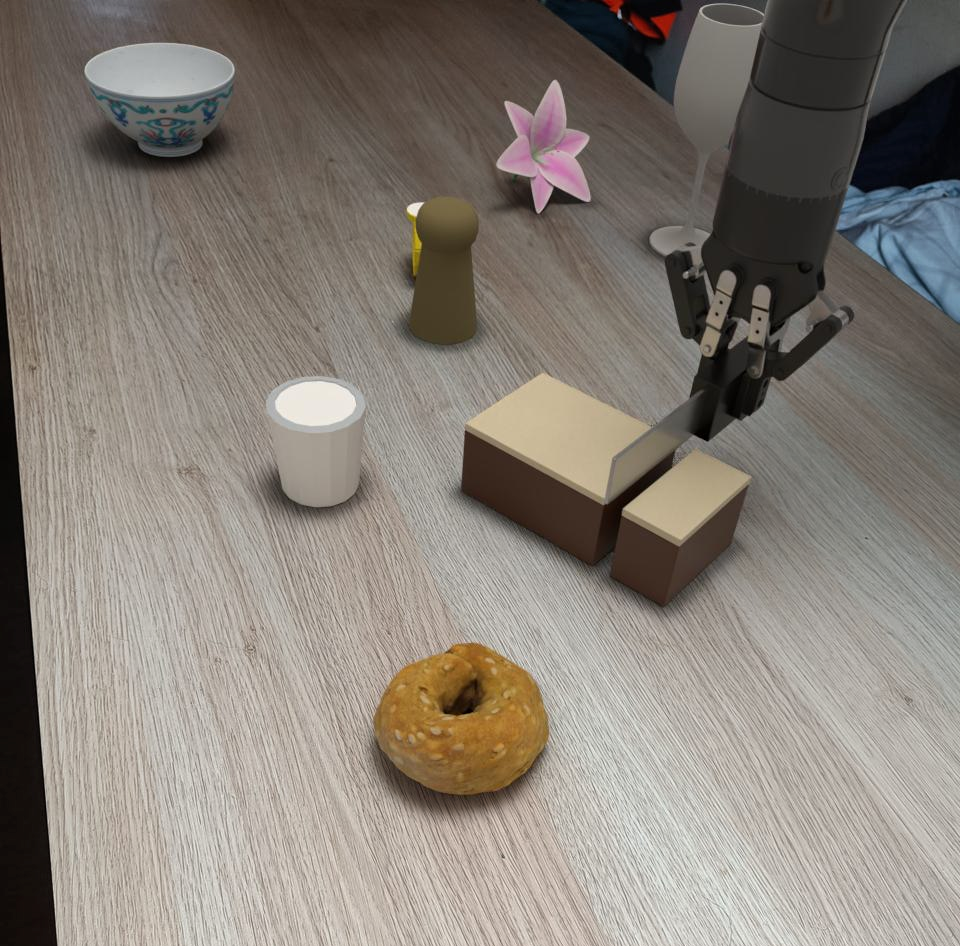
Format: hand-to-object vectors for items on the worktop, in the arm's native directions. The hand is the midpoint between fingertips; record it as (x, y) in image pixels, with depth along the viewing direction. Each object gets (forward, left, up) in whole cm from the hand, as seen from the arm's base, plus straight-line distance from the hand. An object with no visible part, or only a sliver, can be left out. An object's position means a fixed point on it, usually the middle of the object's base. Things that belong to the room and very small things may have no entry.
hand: (725, 405), depth 79 cm
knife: (+5, 0, -1) cm, 5 cm away
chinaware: (-10, -74, -7) cm, 75 cm away
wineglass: (-32, -22, -7) cm, 39 cm away
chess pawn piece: (-3, -29, -7) cm, 30 cm away
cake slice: (+9, +3, -7) cm, 12 cm away
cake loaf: (+9, -7, -7) cm, 13 cm away
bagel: (+31, +2, -7) cm, 32 cm away
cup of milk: (+20, -21, -7) cm, 30 cm away
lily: (-30, -39, -7) cm, 49 cm away
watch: (-9, -37, -7) cm, 38 cm away
